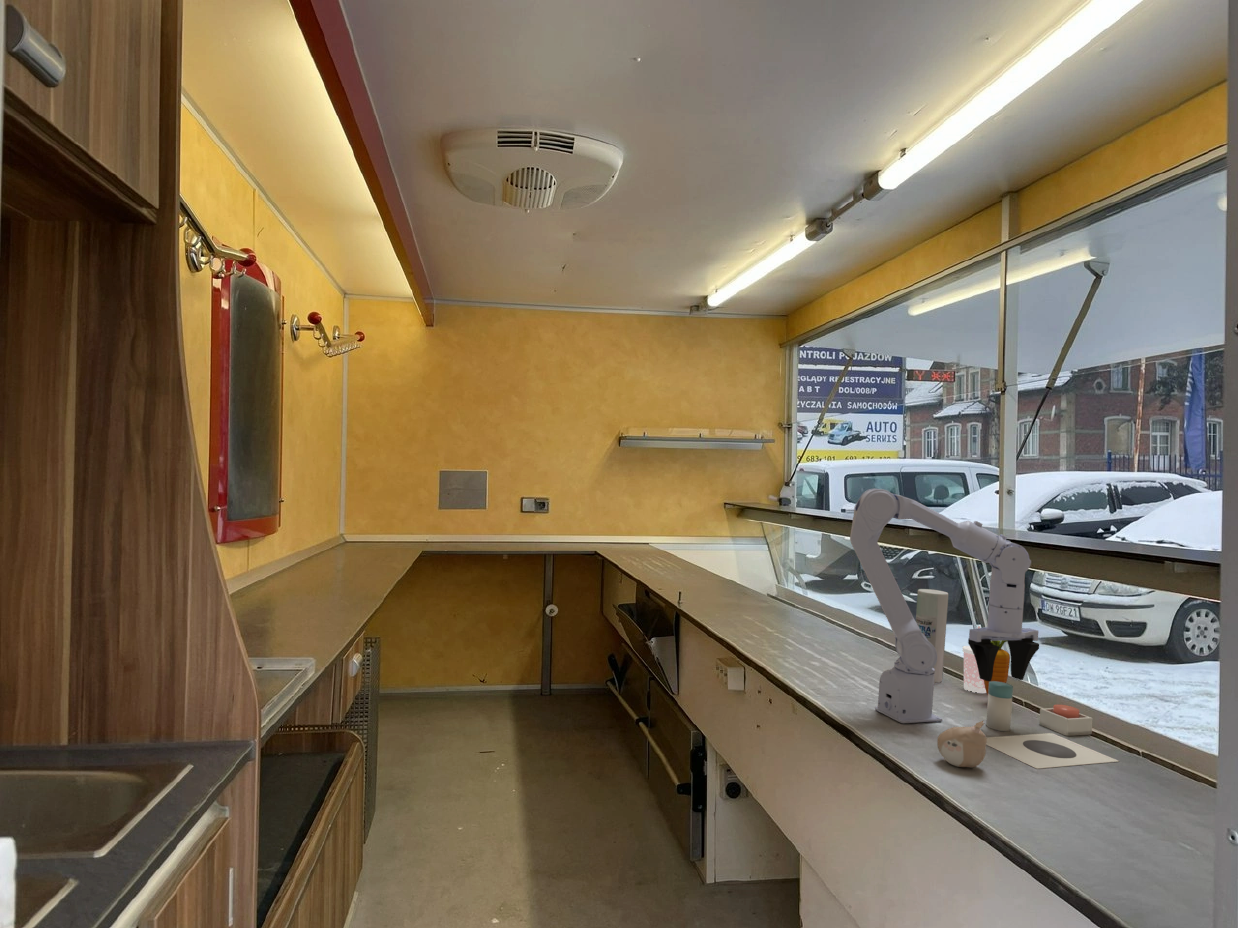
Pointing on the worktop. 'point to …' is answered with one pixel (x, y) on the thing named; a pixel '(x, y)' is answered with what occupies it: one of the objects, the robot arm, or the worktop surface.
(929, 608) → the spray can
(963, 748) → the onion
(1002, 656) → the carrot
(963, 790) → the worktop surface
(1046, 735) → the paper sheet
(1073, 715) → the button
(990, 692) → the marker
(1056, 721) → the button housing
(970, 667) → the beverage cup
